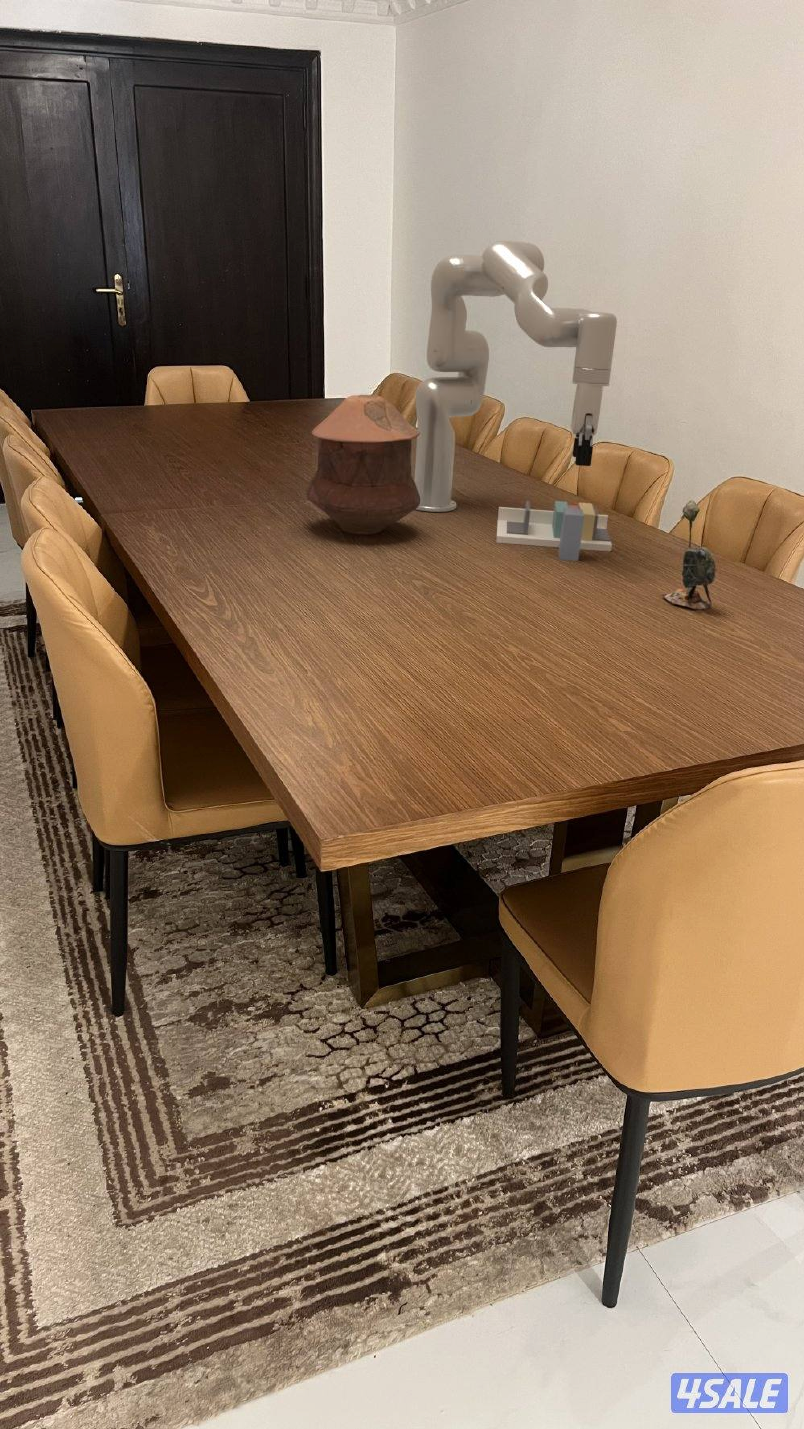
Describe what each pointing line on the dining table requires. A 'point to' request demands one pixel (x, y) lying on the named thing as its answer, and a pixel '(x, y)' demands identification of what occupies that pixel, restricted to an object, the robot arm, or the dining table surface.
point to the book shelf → (551, 526)
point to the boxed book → (571, 534)
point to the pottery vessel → (364, 465)
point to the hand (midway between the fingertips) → (581, 461)
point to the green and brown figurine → (694, 570)
